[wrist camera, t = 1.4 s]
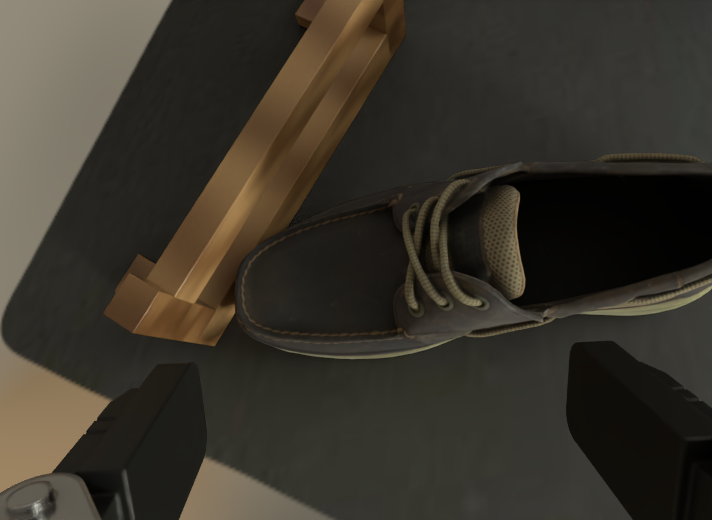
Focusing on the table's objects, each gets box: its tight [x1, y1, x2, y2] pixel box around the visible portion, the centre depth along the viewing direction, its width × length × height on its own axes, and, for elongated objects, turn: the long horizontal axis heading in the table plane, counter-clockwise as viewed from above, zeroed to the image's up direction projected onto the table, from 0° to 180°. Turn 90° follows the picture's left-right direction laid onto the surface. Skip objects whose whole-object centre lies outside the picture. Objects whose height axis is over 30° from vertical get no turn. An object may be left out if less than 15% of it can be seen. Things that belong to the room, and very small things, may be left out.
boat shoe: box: [235, 153, 712, 359], centre depth 29 cm, size 11×29×11 cm, turn 100°
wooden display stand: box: [103, 0, 406, 346], centre depth 33 cm, size 27×8×10 cm, turn 150°
